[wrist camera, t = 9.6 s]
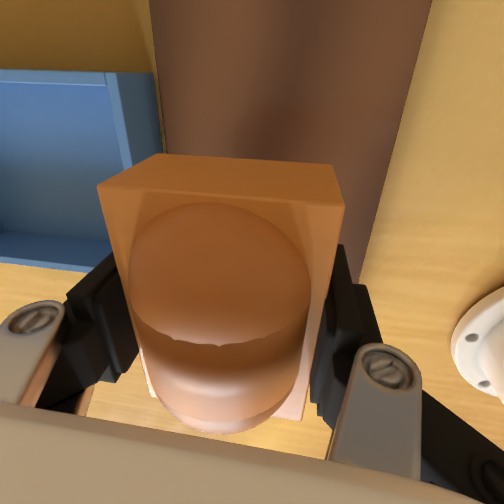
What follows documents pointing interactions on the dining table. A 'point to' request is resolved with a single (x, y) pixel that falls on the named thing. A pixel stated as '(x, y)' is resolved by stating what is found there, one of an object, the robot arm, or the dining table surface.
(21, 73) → the bin
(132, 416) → the dining table surface
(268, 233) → the bread
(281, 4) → the board
